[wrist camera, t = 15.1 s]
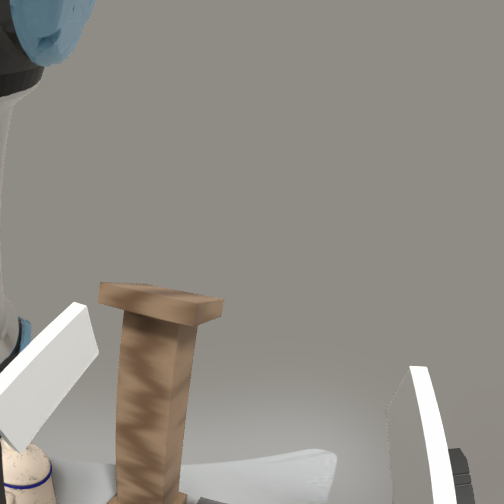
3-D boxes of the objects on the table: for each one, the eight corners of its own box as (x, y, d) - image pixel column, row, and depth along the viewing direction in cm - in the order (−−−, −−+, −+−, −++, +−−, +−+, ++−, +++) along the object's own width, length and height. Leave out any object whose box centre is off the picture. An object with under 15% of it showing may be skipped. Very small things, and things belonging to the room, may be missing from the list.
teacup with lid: (2, 482, 22) (-13, 411, 23) (63, 497, 26) (54, 429, 27) (-17, 538, 11) (-49, 463, 12) (59, 560, 15) (37, 492, 16)
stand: (97, 513, 25) (100, 282, 28) (131, 480, 35) (145, 284, 38) (171, 543, 24) (197, 303, 26) (195, 501, 34) (223, 299, 36)
